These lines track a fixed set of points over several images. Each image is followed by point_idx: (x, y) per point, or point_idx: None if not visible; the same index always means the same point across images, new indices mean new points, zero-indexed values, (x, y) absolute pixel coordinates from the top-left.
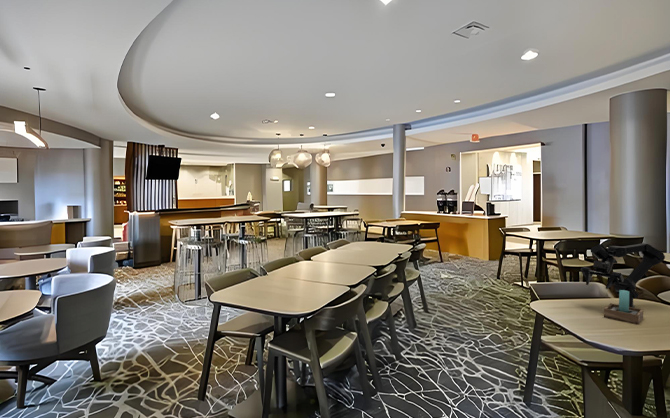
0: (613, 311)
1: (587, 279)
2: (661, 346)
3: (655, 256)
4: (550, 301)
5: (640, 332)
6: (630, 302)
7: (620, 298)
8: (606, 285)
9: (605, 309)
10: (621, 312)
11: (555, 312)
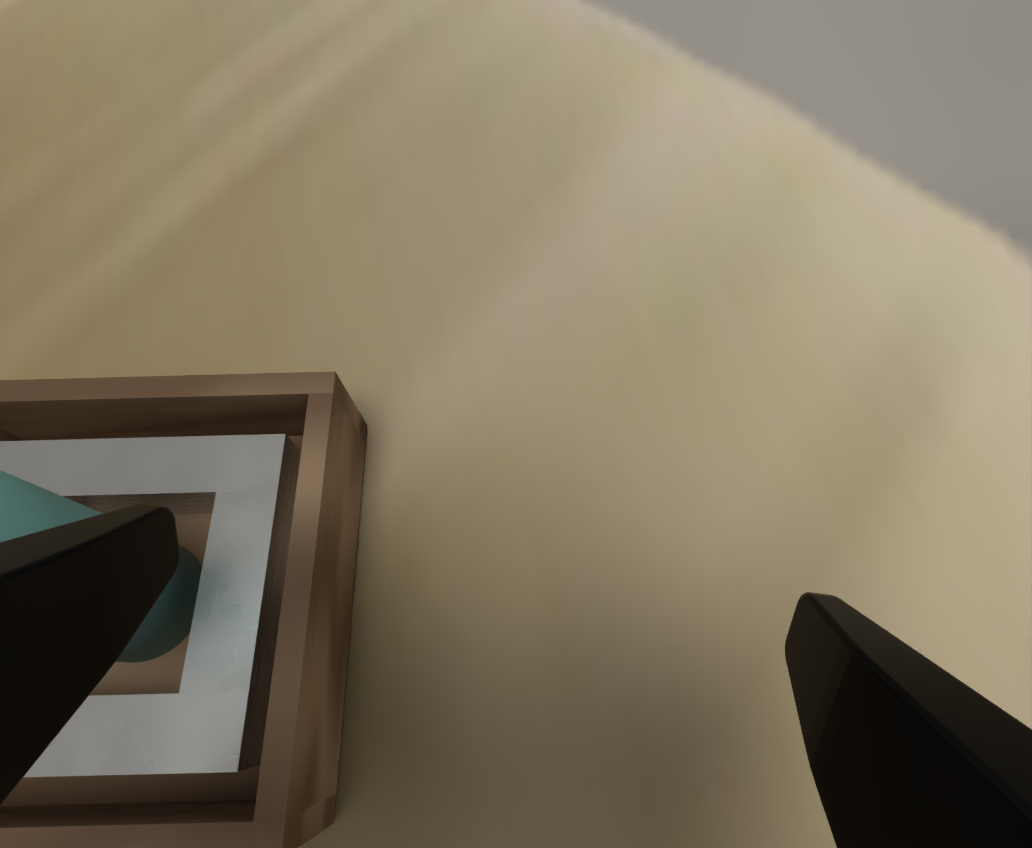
0: (225, 380)
1: (983, 742)
2: None
3: None
4: None
5: (52, 224)
6: None
7: None
8: (90, 544)
9: (320, 377)
10: (127, 380)
11: (789, 223)
